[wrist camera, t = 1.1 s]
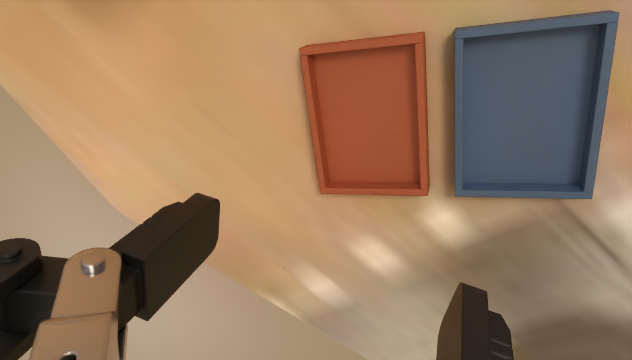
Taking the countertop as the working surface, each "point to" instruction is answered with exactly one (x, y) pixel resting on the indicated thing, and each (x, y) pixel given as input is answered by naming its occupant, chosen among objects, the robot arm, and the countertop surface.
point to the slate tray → (532, 105)
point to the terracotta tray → (369, 114)
